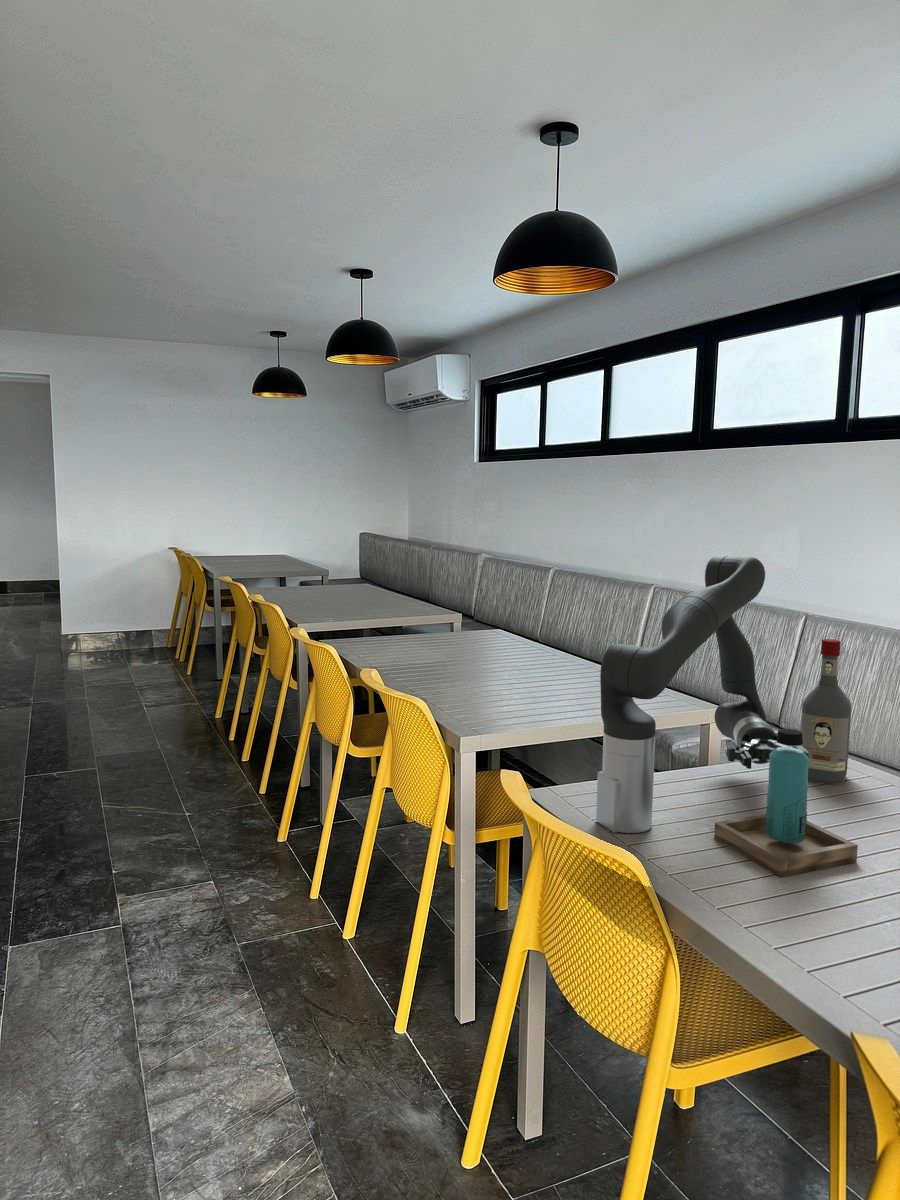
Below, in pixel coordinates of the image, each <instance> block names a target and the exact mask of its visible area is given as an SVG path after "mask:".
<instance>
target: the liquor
mask: <svg viewBox="0 0 900 1200" xmlns="http://www.w3.org/2000/svg"><path fill="white" fill-rule="evenodd" d="M841 642H842V641H841V640H839V639H834V638H833V639H832V638H825V639H821V645H820V646H821V647H820V654H821V666H820V667H821V669H820V678H819V681H818V684H817V685H816V686H815V687H814V688H813V689H812V690H811V691H810V692H809V693H808V694H807V695H806V697H805V698H804V700H803V702H802V704H801V705H802V706H801V722H800V731H801V732H802V734H803V745H801V746H802V747H804V748H805V749H806V750H807V751H808V752H809V755H808V758H809V762H808V782H809V781H811V782H816V783H822V784H828V785H840V784H843V782H844V781H845V780H846V777H847V775H848V774H847V773H848V762H849V750H850V749H849V748H850V747H849V746H850V733H851V732H850V731H851V720H852V719H851V718H852V717H851V716H852V703H851V702H852V701H851V699H850V698H849V697H848V695H847V694H846V693H845V692H844V691H843V690H842V688H841V687H840V686H839V681H838V661H839V657H840V656H841Z"/></svg>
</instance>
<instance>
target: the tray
mask: <svg viewBox="0 0 900 1200" xmlns="http://www.w3.org/2000/svg"><path fill="white" fill-rule="evenodd" d="M765 822H766V813H765V814H756V815H753V816H747V817H746V816H745V817H740V818H734V819H728V820H721V821H715V822H714V834H713V838H714V840H715V841H718V842H719V843H721V844H722V845H724V846H725V847H728V848H729V849H730V850H733V851H735V852H736V853H738V854H739V853H740V854H739V855H741V856H743V857H745V858H747V859H748V860H749V861H752V862H753V863H754V864H756V865H758V866H759V867H762V868H763V869H765V870H767V871H769V872H770V873H772V874H774V875H775V876H777V877H778V878H785V877H789V876H790V877H791V876H795V875H800V874H804V873H810V872H815V871H819V870H820V871H821V870H825V869H830V868H835V867H840V866H845V865H850V864H855V863H857V862H858V848H859V845H858V844H857V843H854V842H852V841H850V840H849V839H846V838H844V837H842V836H840V835H837V834H836V833H834V832H832V831H830V830H827V829H825V828H823V827H821V826H819V825H817V824H815V823H813V822H811V821H809V820H808V819H806V822H807V829H806V831H805V833H806V834H805V836H806V837H805V838H804V840H803V841H802V842H800V843H785V842H780V841H776V840H774V839H772V838H770V837H769V836H768V835H767V833H766V828H765V827H766V823H765Z"/></svg>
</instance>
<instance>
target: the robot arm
mask: <svg viewBox="0 0 900 1200" xmlns="http://www.w3.org/2000/svg"><path fill="white" fill-rule="evenodd" d="M765 580H766V570H765V566H764V564H763V563H762V562H761V561H760V560H759V559H758V558H756V557H755V556H754V557H753V556H749V555H715V556H713V557H711V558H710V559H709V561H708V562H707V564H706V566H705V571H704V584H705V587H703V588H700V589H697V590H695V591H691V592H689V593H688V594H686V595H684V596H682V597H681V598H680V599H678V600H677V601H676V602H675V603H674V604H673V605H672V606H670V608H669V609H668V610H667V611H666V612H665V613H664V615H663V617H662V621H661V635H662V641H661V642H660V643H658V644H657V645H656V646H651V647H645V646H639V645H633V644H624V643H623V644H622V643H614V644H612V645H610V646H609V647H608V648H607V649H606V651H605V652H604V655H603V657H602V660H601V663H600V664H601V666H600V677H599V679H600V683H599V684H600V716H601V720H602V724H603V740H602V741H603V743H602V766H601V767H602V769H601V770H599V771H597V778H596V779H597V780H596V781H597V783H596V788H597V789H596V809H595V810H596V813H595V814H596V815H595V816H596V817H595V820H596V822H597V823H599V824H601V825H602V826H603V827H605V828H606V829H608V830H609V831H610V832H612V833H626V834H639V833H644V832H647V831H649V830H650V829H651V828H652V826H653V804H654V801H653V799H654V775H655V772H654V771H655V753H656V752H655V751H656V730H657V729H656V727H657V726H656V720H655V719H654V717H653V716H651V715H650V714H648V713H647V712H646V711H645V710H642V709H641V708H640V707H639V705H637V704H636V702H635V701H634V699H638V700H639V699H640V700H652V699H655V698H656V697H658V696H659V695H660V694H661V693H662V692H664V690H666V687H668V685H669V684H670V682H671V681H672V680H673V679H674V677H675V675H676V674H677V673H678V672H679V670H680V669H681V667H682V666H683V665H684V664H685V663H686V661H688V659H689V658H690V657H691V656H692V655H693V654H694V653H695V652H696V651H697V650H698V649H699V648H700V647H701V646H702V645H703V644H704V643H705V642H707V640H709V638H710V637H711V636H712V635H713V634H714V633H715V637H716V640H717V647H718V653H719V654H718V655H719V665H720V666H719V668H720V681H721V682H720V683H721V688H722V690H723V691H724V692H725V693H727V694H731V695H737V696H741V697H744V698H746V701H733V702H732V701H731V702H723V703H721V704H719V705H718V706H717V707H716V709H715V712H714V724H715V725H716V727H717V729H718V731H719V732H720V733H721V734H722V735H723V736H724V737H726V738H729V739H726V740H725V748H724V749H725V755H726V759H727V761H728V762H730V763H731V762H735V760H736V761H738V763H740V764H741V766H744V767H745V768H746V769H747V770H749V769H752V763H754V764H756V765H765V764H769V759H770V758H769V754H770V753H771V752H772V751H773V750H775V749H776V748H778V747H790V746H788V745H783V744H780V743H778V742H777V741H776V740H777V734H778V733H776V732H775V731H774V729H773V728H772V726H770V725H769V724H768V723H767V715H766V712H765V709H764V707H763V704H762V702H761V700H760V696H759V694H758V689H757V684H756V683H757V682H756V673H755V671H756V669H755V658H754V657H755V656H754V653H753V651H752V648H751V645H750V643H749V642H748V640H747V639H746V637H745V635H744V634H743V632H742V631H741V628H740V627H739V626H738V624H737V622H736V621H735V619H734V616H733V614H735V613H736V612H737V611H738V610H740V609H742V608H743V607H744V606H746V605H747V604H748V603H750V602H751V601H753V600H754V599H755V598H756V597H758V595H759V593H760V592H761V590H762V589H763V587H764V584H765ZM730 739H731V740H730ZM733 740H734V742H733ZM791 747H792V748H797V749H800V750H802V751H803V752H804V753H805V754H806V755H807V756H808V755H809V752H808V751H807V750H806V749H805V748H804V747H802V746H801V745H800V746H791Z"/></svg>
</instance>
